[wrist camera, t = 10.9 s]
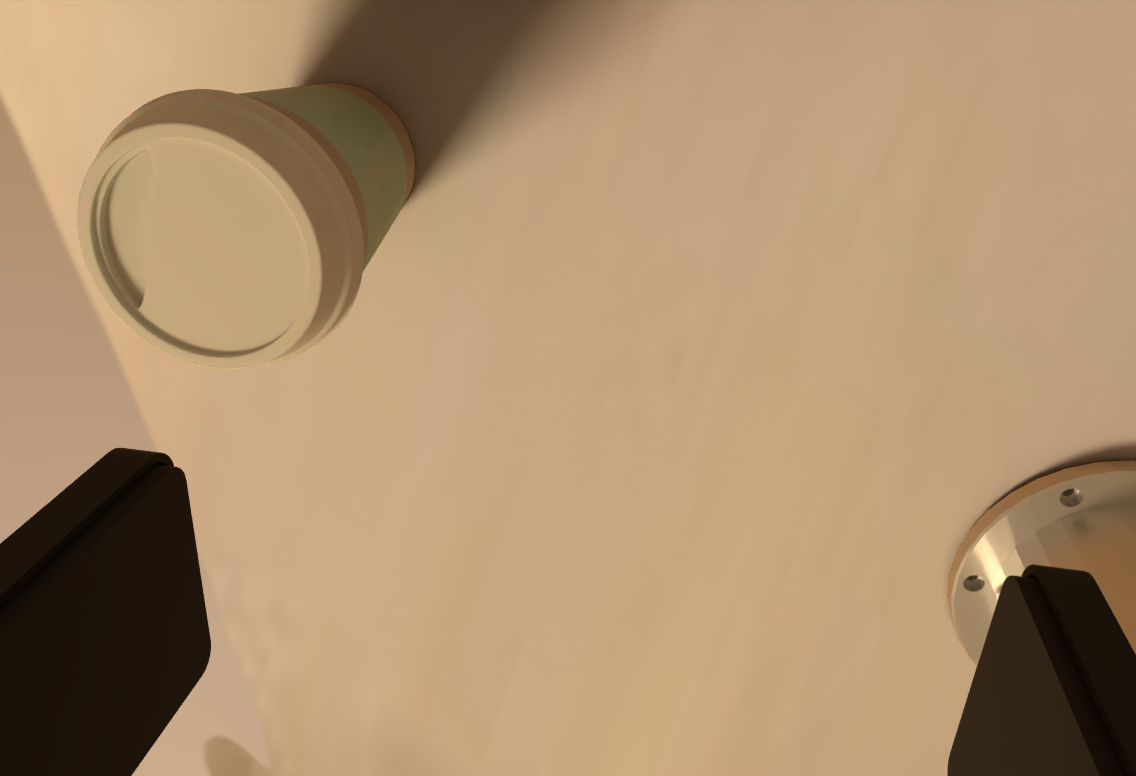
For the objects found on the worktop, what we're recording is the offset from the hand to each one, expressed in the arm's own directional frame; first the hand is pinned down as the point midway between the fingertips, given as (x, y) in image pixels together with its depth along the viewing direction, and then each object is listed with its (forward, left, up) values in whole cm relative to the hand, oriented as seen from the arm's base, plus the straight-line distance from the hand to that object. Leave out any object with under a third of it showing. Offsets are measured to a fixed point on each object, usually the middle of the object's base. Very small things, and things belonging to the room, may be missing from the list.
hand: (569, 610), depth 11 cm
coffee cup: (+13, +2, -28) cm, 31 cm away
